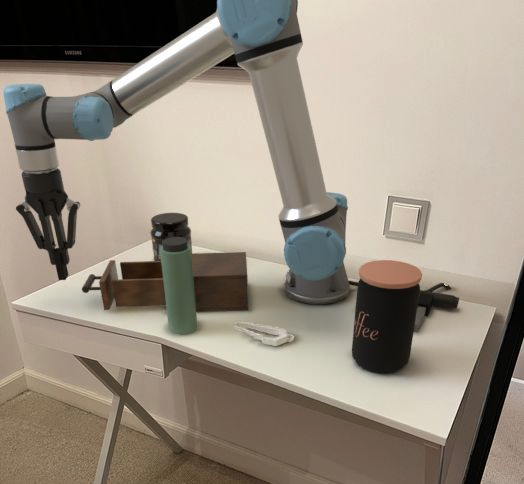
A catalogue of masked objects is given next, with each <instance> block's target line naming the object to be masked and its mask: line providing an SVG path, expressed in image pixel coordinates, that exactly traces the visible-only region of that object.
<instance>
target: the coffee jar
mask: <svg viewBox="0 0 524 484" xmlns="http://www.w3.org/2000/svg"><path fill="white" fill-rule="evenodd" d="M358 275H359V280H358V285H357V286H356V297H355V309H354V321H353V332H352V342H351V343H352V344H351V356H352V359H353V360H354V362H355V363H356V364H357V366H358V367H360V368H361V369H362V370H365V371H367V372H369V373H375V374H380V375H381V374H382V375H387V374H395V373H396V372H399V371H401V370H402V369H403V368H404V367H405V366H407V364H408V363H409V361H410V357H411V351H412V345H413V340H414V333H415V332H414V326H415V320H416V313H417V306H418V300H419V293H420V290H421V286H420V283H421V280H422V278H423V273H422V271H421V270H420V269H419V268H418V267H417V266H415V265H413V264H411V263H408V262H404V261H399V260H394V259H393V260H392V259H391V260H390V259H380V260H372V261H368V262H365V263H364V264H362V265H361V266H360V267H359V269H358Z"/></svg>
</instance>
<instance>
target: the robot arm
mask: <svg viewBox="0 0 524 484" xmlns="http://www.w3.org/2000/svg"><path fill="white" fill-rule="evenodd" d="M298 6H299V1H298V0H216V11H215V12H213V14H211V15H210V16H208V17H206V18H205V19H203V20H202V21H200V22H199V23H198V24H196V25H194V26H193V27H191V28H190V29H188V30H187V31H185V32H184V33H182V34H180V35H179V36H177V37H176V38H174V39H173V40H171V41H170V42H168V43H166V44H165V45H164V46H162V47H160V48H159V49H157V50H156V51H154V52H152V53H151V54H150V55H148V56H146V57H145V58H143V59H142V60H141V61H139V62H138V63H136V64H135V65H133V66H132V67H130V68H129V69H127V70H126V71H123V72H122V73H121V74H120V75H118V76H116V77H115V78H113V79H112V80H110V81H108V82H107V83H106V84H104V85H102V86H101V87H99V88H98V89H96V90H94V91H90V92H87V93H83V94H78V95H75V96H74V95H73V96H50V95H47V92H46V89H45V87H44V85H42V84H39V83H38V84H37V83H18V84H10V85H7V86H5V87H4V88H3V93H2V94H3V99H4V104H5V114H6V115H7V119H8V122H9V127H10V130H11V135H12V138H13V143H14V147H15V153H16V157H17V163H18V167H19V169H20V170H21V171H22V172H21V178H22V183H23V187H24V191H25V196H24V201H23V202H20V203H18V205H16V207H15V211H16V212H17V213H18V214H19V215H20V216H21V217H22V218H23V220H24V223H25V224H26V227H27V228H28V230H29V233H30V234H31V237H32V238H33V240H34V243H35V245H36V246H37V248H38V249H39V250H45V251H47V254H48V257H49V262H50V264H51V266H55V269H56V275H57V278H58V281H66V280H67V279H68V276H69V271H68V265H69V264H70V261H71V258H70V255H69V249H72V248H73V247H74V245H76V238H77V237H76V236H77V217H78V211H79V209H80V207H81V203H80V202H79V201H74V200H72V199H70V198H69V195H68V194H67V193H66V191H65V186H64V181H63V177H62V171H61V169H59V167H60V162H59V156H58V150H57V146H56V140H79V141H80V140H83V141H85V140H86V141H89V142H93V141H97V140H98V141H99V140H107V139H108V138H110V136H111V133H112V132H113V129H115V128H117V127H119V126H121V125H122V124H124V123H125V121H127V120H128V119H129V118H131V117H133V116H134V115H136V114H137V113H139V112H140V111H142V110H144V109H146V108H147V107H149V106H151V105H152V104H154V103H155V102H157V101H159V100H161V99H162V98H163V97H165V96H167V95H168V94H170V93H172V92H173V91H175V90H176V89H178V88H180V87H181V86H183V85H185V84H186V83H188V82H190V81H191V80H193V79H195V78H196V77H198V76H200V75H202V74H204V73H205V72H206V71H208V70H209V69H211V68H213V67H215V66H216V65H218V64H219V63H221V62H223V61H225V60H226V59H227V58H229V57H231V56H232V55H234V56H235V61H236V64H237V66H238V67H240V68H241V69H243V70H245V71H246V72H247V74H248V75H249V79H250V83H251V86H252V91H253V94H254V98H255V102H256V106H257V109H258V113H259V117H260V121H261V124H262V129H263V133H264V136H265V140H266V144H267V147H268V151H269V156H270V159H271V164H272V167H273V170H274V174H275V178H276V183H277V186H278V190H279V193H280V197H281V201H282V205H283V206H282V209H281V210H280V212H279V214H278V221H279V225H280V228H281V232H282V236H283V240H284V247H283V257H284V260H285V263H286V265H287V267H288V270H287V271H286V273H285V280H284V293H285V295H287V297H288V298H290V299H291V300H294V301H296V302H299V303H302V304H307V305H329V304H334V303H338V302H340V301H343V300H345V298H347V297H348V295H349V293H350V286H353V287H357V285H358V282H357V281H354V280H349V277H348V274H347V269H346V266H345V263H344V262H345V261H344V260H345V257H346V254H347V246H346V234H347V233H346V231H347V230H346V229H347V227H346V226H347V214H348V209H349V206H348V198H347V196H346V195H345V194H342V193H338V192H328V191H327V188H326V184H325V180H324V179H325V178H324V175H323V170H322V166H321V161H320V156H319V152H318V148H317V147H318V146H317V143H316V139H315V134H314V129H313V125H312V121H311V116H310V111H309V107H308V102H307V97H306V94H305V88H304V83H303V80H302V75H301V72H300V65H299V62H298V56H299V54H300V52H301V50H302V47H303V46H304V42H303V37H302V33H301V27H300V23H299V18H298V8H299V7H298ZM65 206H66V209H67V211H68V215H67V231H65V227H64V222H63V213H62V212H63V210H64V209H65ZM31 210H33V211H34V212H35V213H36V214H37V217H38V220H39V223H40V225H41V227H40V226H39V224H38V222H37V219H36V217H35V216H34V214H33V211H31ZM51 221H52V223H51ZM52 224H53V227H52ZM53 229H54V231H53ZM54 233H55V236H54ZM66 235H67V236H66ZM55 237H56V242H57V244H56V242H55ZM444 283H445V282H440V283H437V284H435V285H434V286H432V287H430V288H428V289H424V290H423V291H429V292H435V291H437V290H438V289H440V288H444V289H446V290H452V286H450V285H449V284H448V286H445V285H444Z"/></svg>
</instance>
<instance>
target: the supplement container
mask: <svg viewBox="0 0 524 484" xmlns="http://www.w3.org/2000/svg"><path fill="white" fill-rule="evenodd" d="M150 225H151V230H150V232H149V233H150V237H151V243H152V253H153V254H152V255H153V261H161V256H160V247H161V246H162V241H163V240H164V239H166V238H170V237H183V238H186V239H187V244H188V245H190V246H191V254H193V243H192V229H191V227H190V226H189V216H187V214H184V213H182V212H181V213H180V212H163V213H158V214H156V215H154V216H153V217H151V219H150Z"/></svg>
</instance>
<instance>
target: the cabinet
mask: <svg viewBox="0 0 524 484" xmlns="http://www.w3.org/2000/svg"><path fill="white" fill-rule="evenodd" d="M192 266H193V278H194V290H195V302H196V313H211V312H238V311H239V312H241V311H249V289H248V288H249V285H248V282H249V281H248V264H247V252H246V251H242V252H241V251H236V252H235V251H234V252H233V251H232V252H230V251H229V252H199V253H198V252H197V253H195V252H193V253H192Z"/></svg>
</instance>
